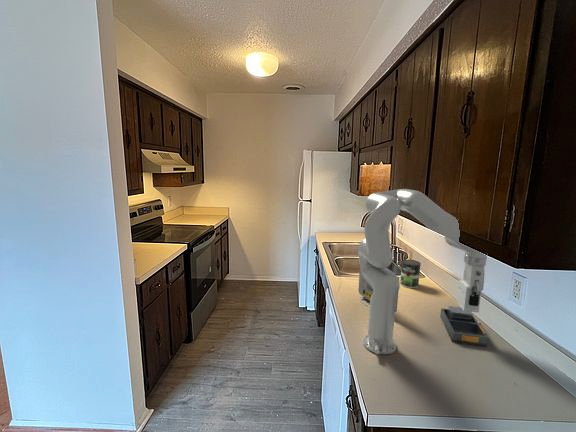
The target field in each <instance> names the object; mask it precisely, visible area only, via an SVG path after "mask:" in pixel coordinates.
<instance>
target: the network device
mask: <svg viewBox="0 0 576 432" xmlns="http://www.w3.org/2000/svg"><path fill="white" fill-rule="evenodd" d="M396 276H397V277H398V279H399V280H400V277H399V276H398V275H396ZM357 291H358V293H359V294H360V295H361V297H360V298H359V301H360V303H361V302H362V303H361V304H363V305H364V304H365V305H364V306H365V307H367V308H368V307H369V308H368V309H370V303H369V304H368V303H367V302H365V301H364V300H367V301H369V302H370V299H371V296H372V294H373V288H372V287H371V286H370V285H369V284H368V283H367V282H366V281H365V279H364V278H363V275H362V272H361V266H360V265H359V276H358V290H357ZM398 302H399V294H398V295H397V299H396V306H395V313H397V312H398Z"/></svg>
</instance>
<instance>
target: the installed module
mask: <svg viewBox="0 0 576 432" xmlns="http://www.w3.org/2000/svg"><path fill="white" fill-rule="evenodd" d="M447 309H448V314H447V318H448V319H449V320H456V321H464V322H471V319H472V314H473V313H472V312H466V311H463V309H462V308H461V307H460V306H452V305H451V306H450V305H448V307H447ZM471 313H472V314H471Z"/></svg>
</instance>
